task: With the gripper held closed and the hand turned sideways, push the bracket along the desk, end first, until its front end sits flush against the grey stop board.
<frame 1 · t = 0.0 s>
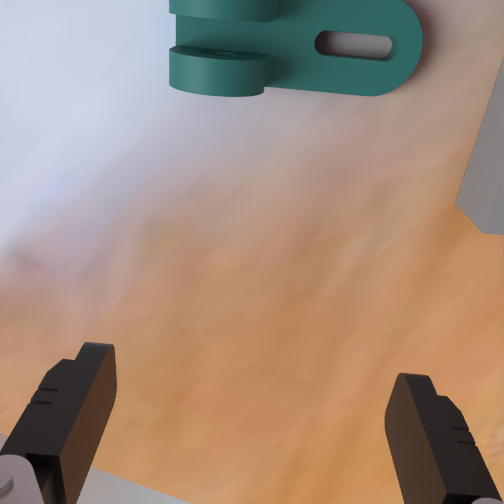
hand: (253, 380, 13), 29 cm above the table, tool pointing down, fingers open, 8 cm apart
bracket: (297, 38, 36), on the table
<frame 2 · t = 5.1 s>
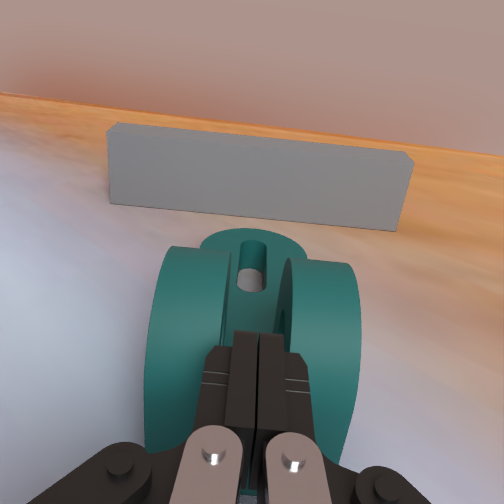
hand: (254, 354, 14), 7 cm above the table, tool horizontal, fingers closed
stop board: (254, 210, 40), on the table
bracket: (246, 341, 25), on the table, touching gripper
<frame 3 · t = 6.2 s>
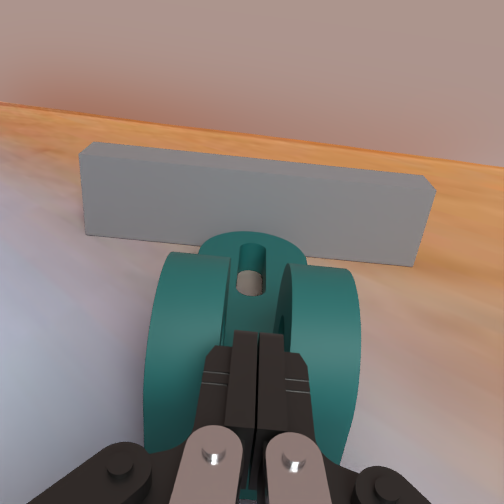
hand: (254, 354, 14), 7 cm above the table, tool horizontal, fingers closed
stop board: (251, 241, 35), on the table
bracket: (245, 345, 25), on the table, touching gripper
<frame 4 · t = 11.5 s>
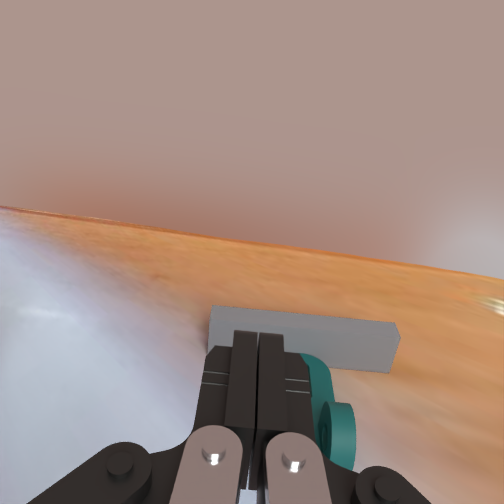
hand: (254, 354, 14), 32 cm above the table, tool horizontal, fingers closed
stop board: (297, 356, 62), on the table
bracket: (302, 422, 53), on the table
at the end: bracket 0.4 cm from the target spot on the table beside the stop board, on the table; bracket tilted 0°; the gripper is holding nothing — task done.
